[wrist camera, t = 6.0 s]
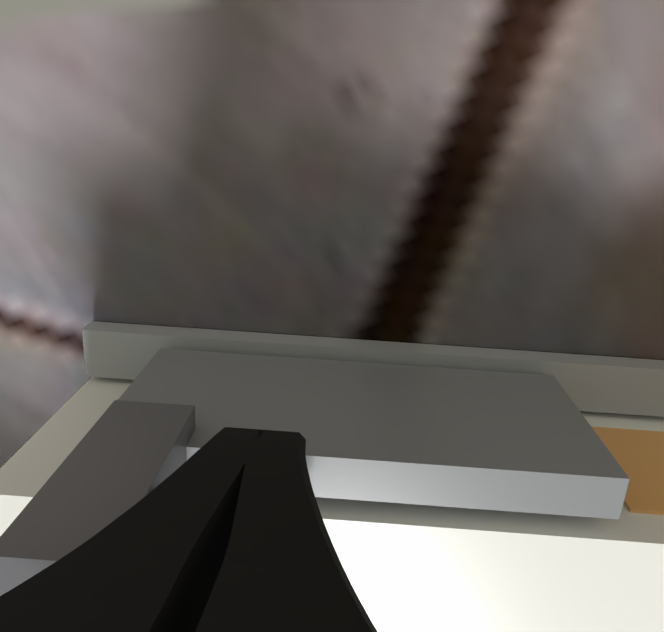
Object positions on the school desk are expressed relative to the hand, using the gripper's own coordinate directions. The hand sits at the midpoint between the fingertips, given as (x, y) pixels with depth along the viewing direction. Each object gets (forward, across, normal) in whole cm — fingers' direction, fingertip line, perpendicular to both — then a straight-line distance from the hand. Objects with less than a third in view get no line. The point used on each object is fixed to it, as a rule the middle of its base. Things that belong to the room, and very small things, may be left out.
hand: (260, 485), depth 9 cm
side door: (+5, -2, 0) cm, 5 cm away
